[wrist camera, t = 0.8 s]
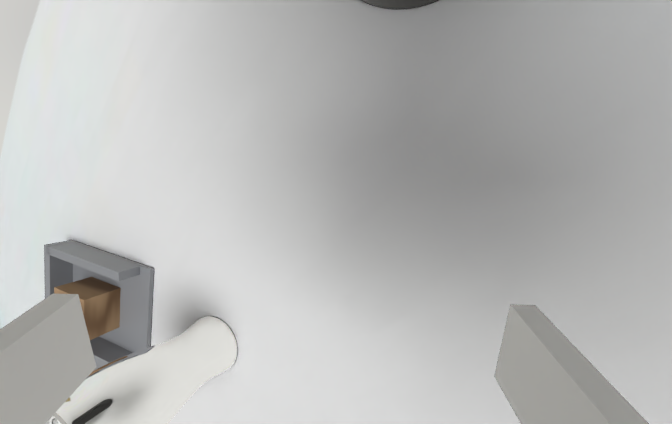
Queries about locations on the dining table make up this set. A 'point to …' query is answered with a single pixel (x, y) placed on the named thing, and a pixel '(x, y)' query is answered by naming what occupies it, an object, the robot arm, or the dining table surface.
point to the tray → (132, 277)
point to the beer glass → (152, 379)
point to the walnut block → (96, 304)
